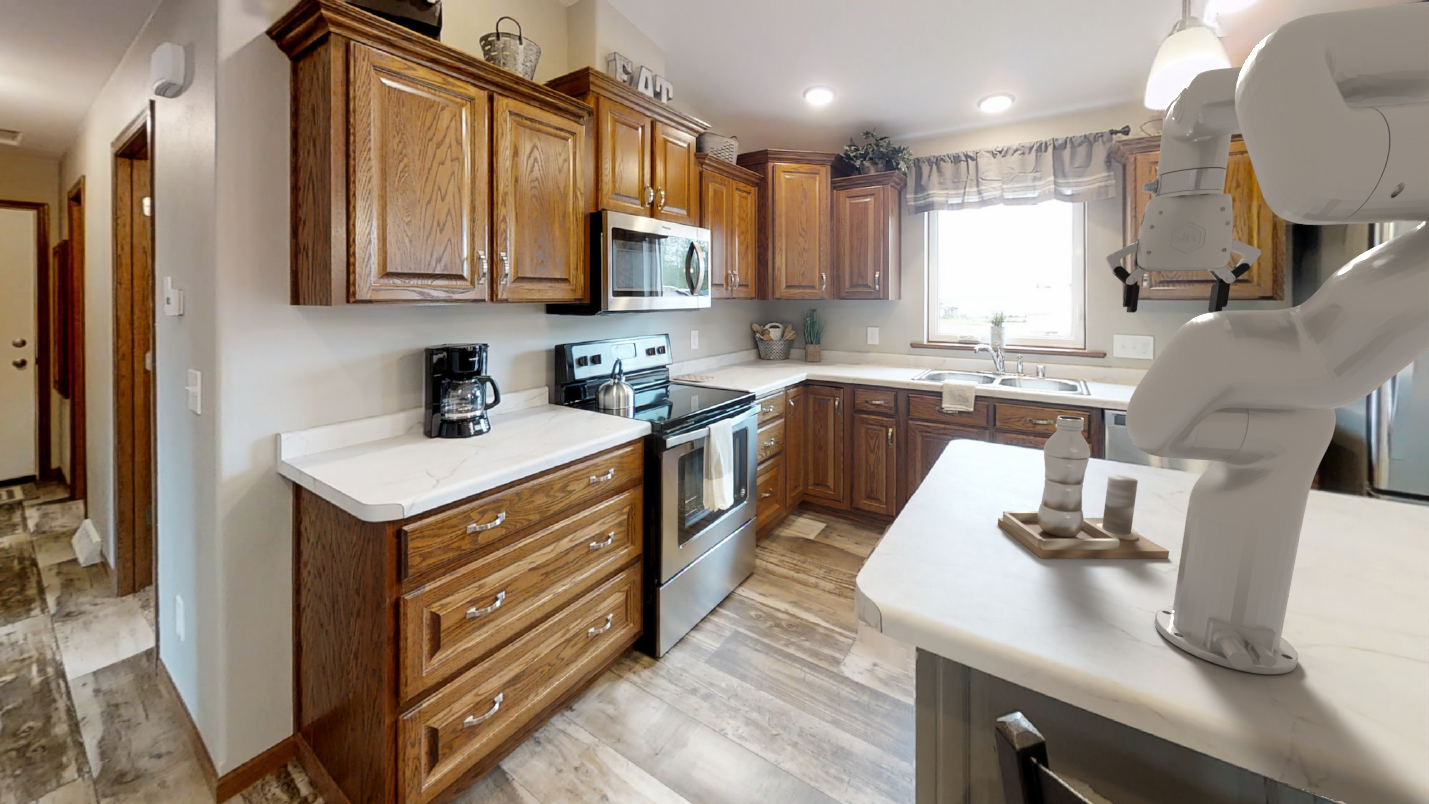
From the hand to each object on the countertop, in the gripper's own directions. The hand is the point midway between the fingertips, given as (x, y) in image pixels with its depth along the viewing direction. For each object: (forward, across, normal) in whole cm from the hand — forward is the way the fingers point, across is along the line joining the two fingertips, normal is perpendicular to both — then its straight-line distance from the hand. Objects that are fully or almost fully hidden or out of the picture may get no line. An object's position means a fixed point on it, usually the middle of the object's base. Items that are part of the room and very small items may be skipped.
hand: (1171, 312), depth 82 cm
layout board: (+38, -8, +5) cm, 39 cm away
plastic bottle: (+37, -11, +3) cm, 39 cm away
